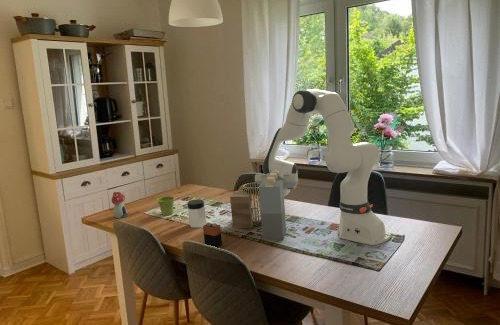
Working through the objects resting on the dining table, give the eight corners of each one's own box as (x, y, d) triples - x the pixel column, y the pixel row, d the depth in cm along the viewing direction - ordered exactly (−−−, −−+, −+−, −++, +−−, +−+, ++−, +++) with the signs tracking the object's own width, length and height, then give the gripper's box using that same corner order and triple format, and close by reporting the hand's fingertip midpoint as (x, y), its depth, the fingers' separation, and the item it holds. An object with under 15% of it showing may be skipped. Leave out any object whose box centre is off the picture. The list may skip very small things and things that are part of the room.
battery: (216, 248, 164) (214, 226, 162) (204, 245, 167) (202, 224, 165) (222, 244, 167) (220, 222, 165) (210, 242, 171) (208, 220, 169)
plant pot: (174, 216, 209) (172, 200, 207) (157, 217, 209) (155, 202, 207) (177, 210, 218) (176, 195, 216) (161, 211, 218) (159, 196, 216)
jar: (188, 223, 196) (185, 200, 194) (204, 220, 198) (202, 198, 196) (191, 229, 188) (188, 205, 185) (207, 226, 190) (205, 202, 188)
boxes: (237, 220, 195) (233, 174, 190) (289, 220, 189) (286, 173, 184) (225, 239, 173) (220, 187, 168) (283, 240, 167) (279, 186, 162)
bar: (272, 176, 181) (272, 170, 180) (278, 175, 180) (278, 170, 179) (265, 187, 163) (265, 181, 162) (272, 187, 162) (272, 181, 162)
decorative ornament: (119, 219, 209) (115, 193, 206) (110, 218, 212) (106, 192, 209) (131, 213, 218) (127, 188, 215) (121, 213, 220) (118, 187, 217)
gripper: (257, 176, 192) (251, 168, 179) (299, 175, 187) (296, 167, 174) (257, 188, 190) (251, 181, 177) (299, 188, 185) (296, 181, 172)
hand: (273, 174), depth 176 cm, fingers open, 3 cm apart
